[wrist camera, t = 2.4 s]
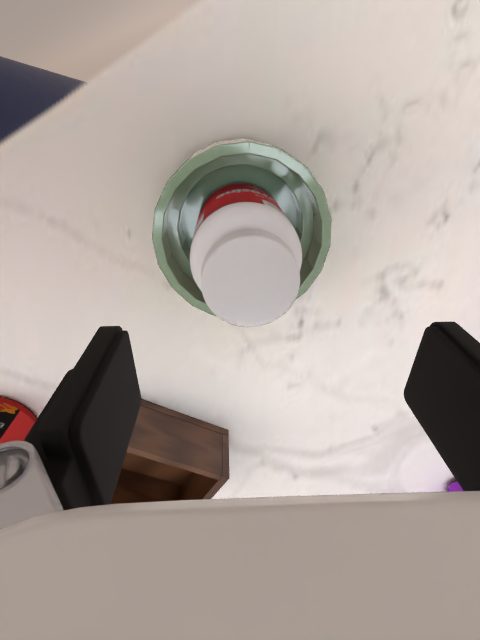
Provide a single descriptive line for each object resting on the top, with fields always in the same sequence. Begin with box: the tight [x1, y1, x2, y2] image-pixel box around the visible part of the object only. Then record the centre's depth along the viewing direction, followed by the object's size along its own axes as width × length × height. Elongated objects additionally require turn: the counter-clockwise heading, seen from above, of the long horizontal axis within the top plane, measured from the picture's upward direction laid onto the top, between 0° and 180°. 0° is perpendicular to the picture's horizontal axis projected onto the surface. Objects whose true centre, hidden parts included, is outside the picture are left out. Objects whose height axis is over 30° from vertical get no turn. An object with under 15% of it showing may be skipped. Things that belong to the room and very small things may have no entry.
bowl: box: [152, 138, 331, 316], centre depth 23 cm, size 11×11×5 cm
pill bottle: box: [190, 181, 302, 327], centre depth 20 cm, size 6×6×11 cm
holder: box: [111, 399, 229, 504], centre depth 35 cm, size 11×11×6 cm
